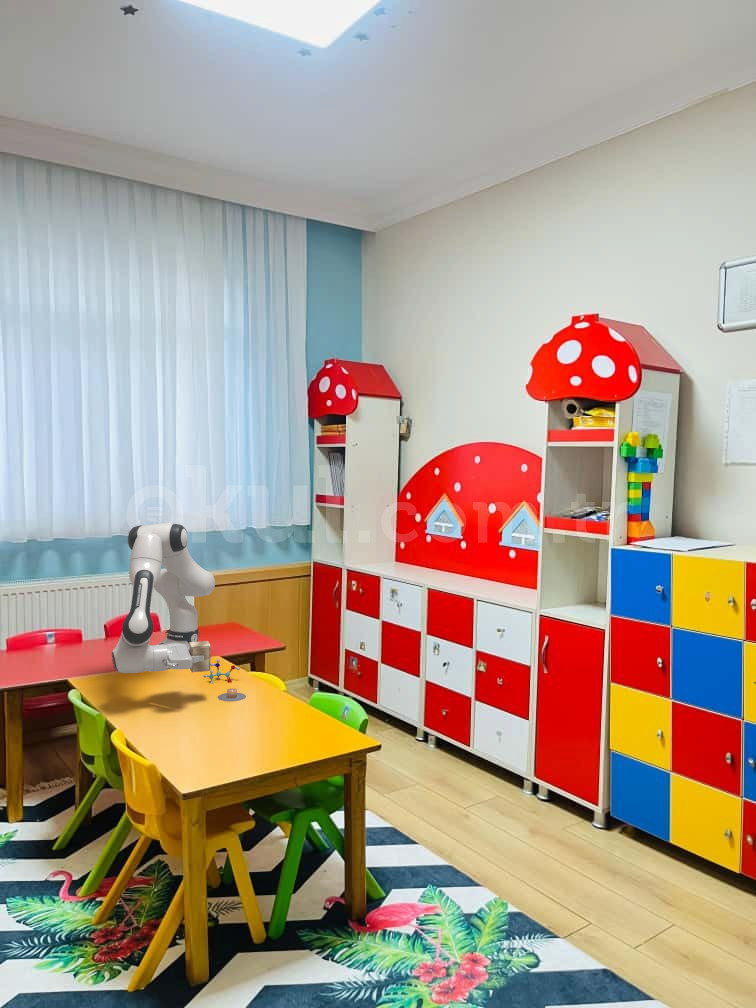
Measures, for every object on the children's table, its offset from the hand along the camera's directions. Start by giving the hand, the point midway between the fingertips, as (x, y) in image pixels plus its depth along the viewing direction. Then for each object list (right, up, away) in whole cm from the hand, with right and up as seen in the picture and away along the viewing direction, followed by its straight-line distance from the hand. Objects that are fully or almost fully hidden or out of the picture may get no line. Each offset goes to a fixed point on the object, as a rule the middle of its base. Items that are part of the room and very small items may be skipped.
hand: (202, 654), depth 275 cm
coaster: (+10, -16, +4) cm, 19 cm away
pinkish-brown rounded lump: (+10, -16, +4) cm, 19 cm away
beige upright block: (-1, -5, 0) cm, 5 cm away
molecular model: (+1, -15, +23) cm, 28 cm away
